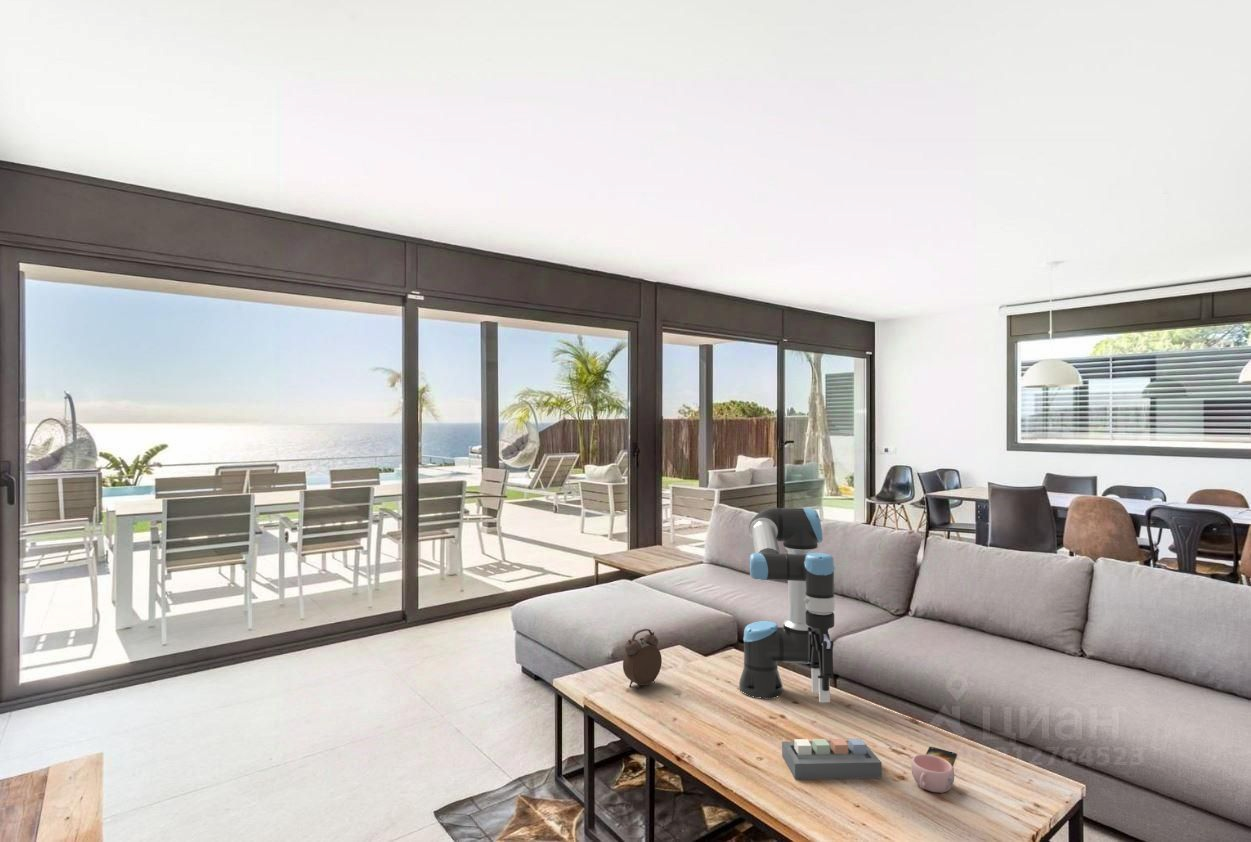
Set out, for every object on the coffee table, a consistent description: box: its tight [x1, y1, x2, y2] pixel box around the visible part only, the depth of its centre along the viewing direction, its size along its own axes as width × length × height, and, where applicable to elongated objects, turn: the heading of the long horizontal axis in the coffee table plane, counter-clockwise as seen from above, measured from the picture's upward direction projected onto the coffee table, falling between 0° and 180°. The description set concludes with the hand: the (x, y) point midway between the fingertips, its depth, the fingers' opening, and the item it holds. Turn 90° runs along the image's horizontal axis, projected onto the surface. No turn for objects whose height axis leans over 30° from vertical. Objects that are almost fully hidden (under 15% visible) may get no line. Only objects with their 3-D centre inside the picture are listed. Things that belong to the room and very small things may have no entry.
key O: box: [793, 738, 812, 755], centre depth 170 cm, size 4×4×2 cm
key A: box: [847, 737, 868, 754], centre depth 171 cm, size 4×4×2 cm
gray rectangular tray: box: [781, 740, 883, 780], centre depth 170 cm, size 12×23×4 cm, turn 92°
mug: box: [910, 753, 955, 793], centre depth 160 cm, size 12×10×6 cm
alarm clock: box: [622, 628, 662, 690], centre depth 227 cm, size 15×7×20 cm, turn 130°
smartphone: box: [925, 746, 958, 767], centre depth 173 cm, size 7×1×15 cm
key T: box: [829, 738, 848, 754], centre depth 171 cm, size 4×4×2 cm
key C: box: [811, 738, 830, 755], centre depth 170 cm, size 4×4×2 cm
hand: (820, 696), depth 171 cm, fingers open, 5 cm apart
